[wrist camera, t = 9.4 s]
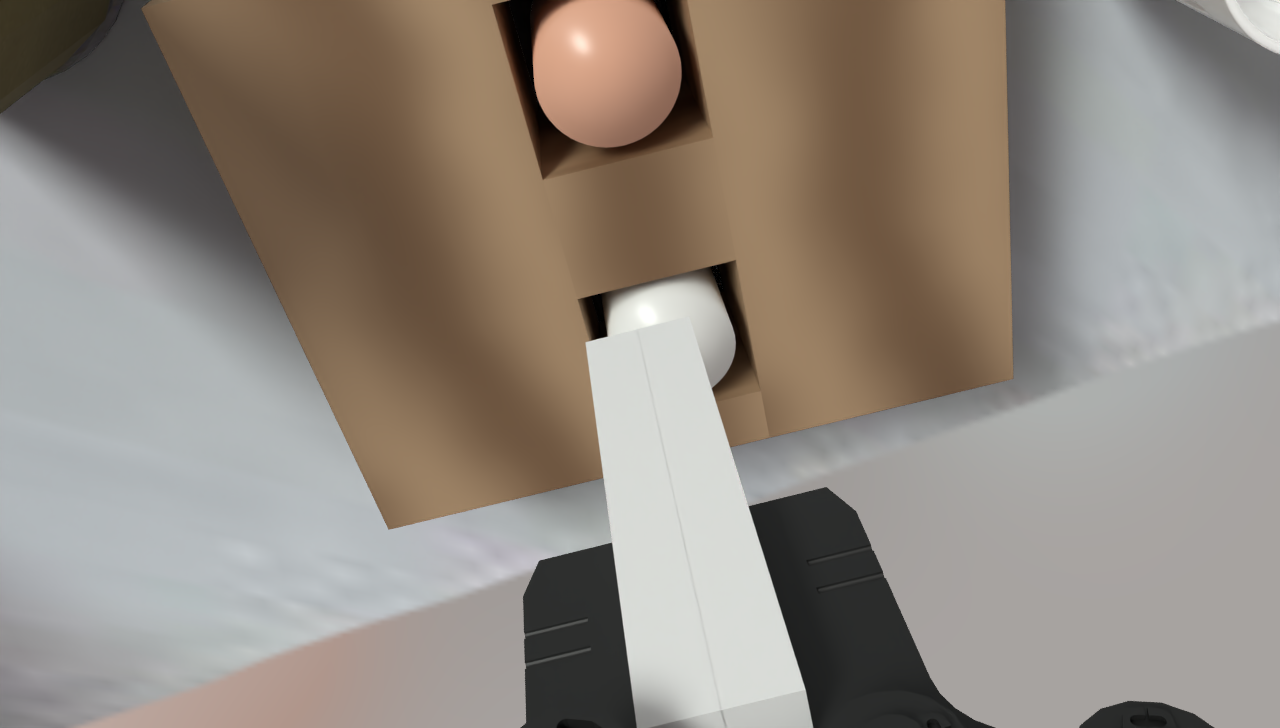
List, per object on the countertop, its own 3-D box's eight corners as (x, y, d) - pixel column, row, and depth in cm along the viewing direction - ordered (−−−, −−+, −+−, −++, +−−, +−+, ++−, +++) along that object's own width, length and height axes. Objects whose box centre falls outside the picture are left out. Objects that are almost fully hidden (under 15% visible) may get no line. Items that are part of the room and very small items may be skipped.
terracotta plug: (548, 95, 34) (555, 162, 29) (515, -28, 32) (516, 21, 27) (666, 66, 34) (694, 127, 29) (640, -60, 32) (665, -17, 27)
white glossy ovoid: (611, 323, 39) (626, 414, 34) (585, 230, 37) (597, 311, 32) (714, 298, 39) (744, 385, 34) (694, 202, 37) (724, 281, 32)
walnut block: (405, 413, 41) (388, 529, 36) (209, -47, 32) (140, 8, 26) (940, 283, 41) (1013, 379, 35) (907, -227, 31) (1000, -213, 25)
